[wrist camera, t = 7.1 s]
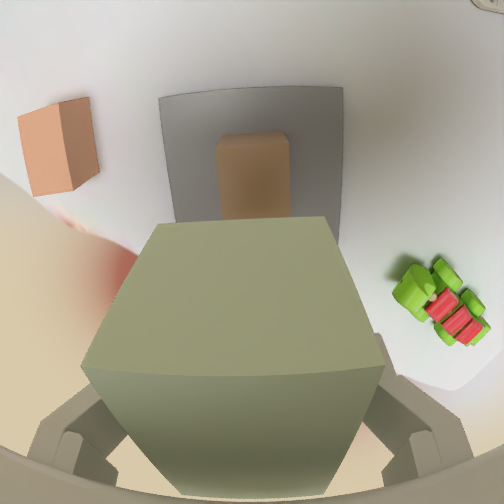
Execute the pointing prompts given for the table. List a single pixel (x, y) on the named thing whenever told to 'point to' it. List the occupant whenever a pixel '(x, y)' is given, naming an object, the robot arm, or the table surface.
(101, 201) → the table surface
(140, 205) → the table surface
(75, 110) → the terracotta brick
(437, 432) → the robot arm
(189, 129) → the base plate
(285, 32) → the table surface
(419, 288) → the toy crocodile
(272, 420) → the sage brick
